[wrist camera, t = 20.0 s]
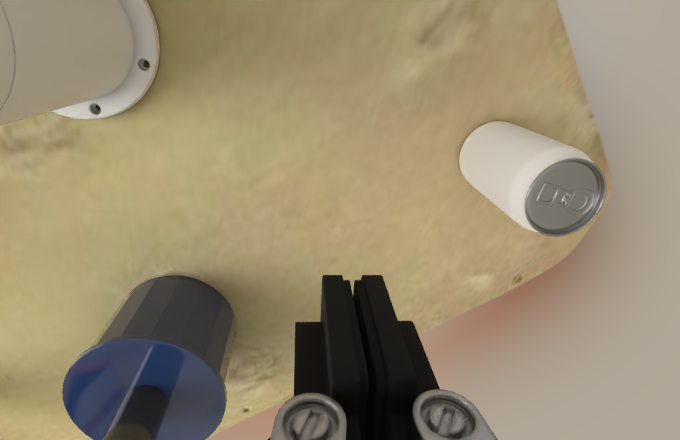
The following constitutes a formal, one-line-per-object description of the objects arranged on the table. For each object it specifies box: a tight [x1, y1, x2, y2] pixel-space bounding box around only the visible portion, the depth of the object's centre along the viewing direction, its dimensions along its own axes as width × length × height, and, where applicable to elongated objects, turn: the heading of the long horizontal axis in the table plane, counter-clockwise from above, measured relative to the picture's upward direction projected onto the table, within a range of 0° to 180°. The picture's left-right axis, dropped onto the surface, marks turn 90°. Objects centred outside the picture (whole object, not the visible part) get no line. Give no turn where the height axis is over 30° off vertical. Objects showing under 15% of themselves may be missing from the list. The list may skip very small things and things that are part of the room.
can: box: [459, 121, 606, 237], centre depth 33 cm, size 6×6×12 cm
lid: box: [63, 334, 227, 440], centre depth 32 cm, size 13×13×6 cm
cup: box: [91, 276, 236, 382], centre depth 39 cm, size 12×12×10 cm
